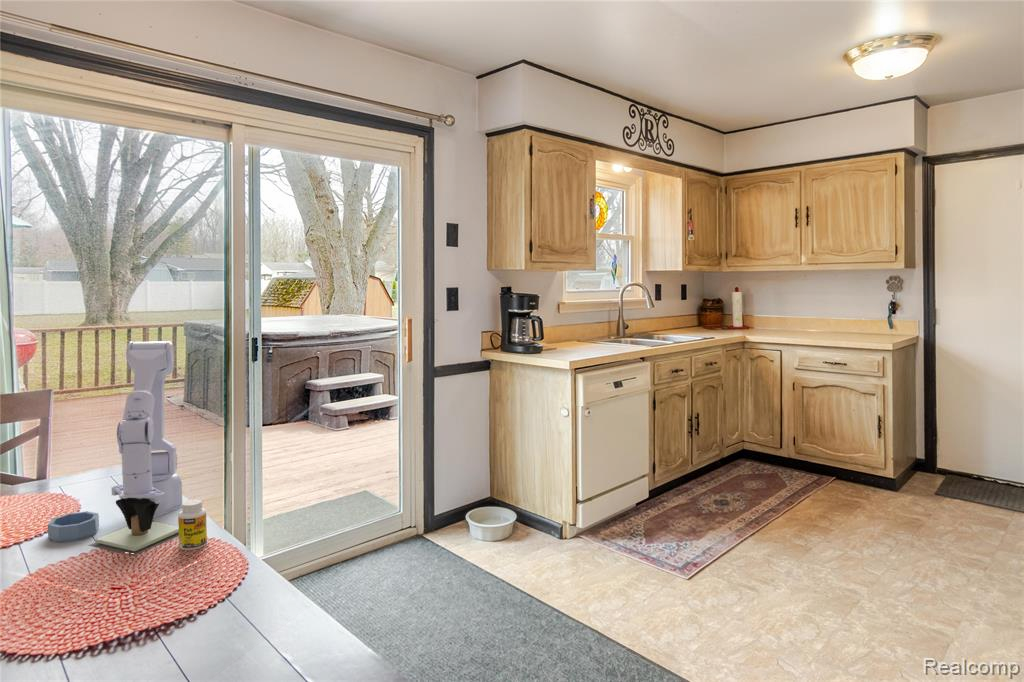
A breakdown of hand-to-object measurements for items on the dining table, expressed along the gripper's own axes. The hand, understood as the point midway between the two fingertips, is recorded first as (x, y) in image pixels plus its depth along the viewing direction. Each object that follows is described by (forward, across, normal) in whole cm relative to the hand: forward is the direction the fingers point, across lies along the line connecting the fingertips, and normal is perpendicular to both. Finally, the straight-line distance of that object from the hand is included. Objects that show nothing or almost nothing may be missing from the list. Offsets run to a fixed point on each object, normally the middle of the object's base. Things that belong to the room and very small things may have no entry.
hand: (139, 528), depth 140 cm
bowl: (+3, -16, -4) cm, 17 cm away
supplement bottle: (+3, +14, +2) cm, 14 cm away
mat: (+3, 0, 0) cm, 3 cm away
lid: (+2, 0, 0) cm, 2 cm away
